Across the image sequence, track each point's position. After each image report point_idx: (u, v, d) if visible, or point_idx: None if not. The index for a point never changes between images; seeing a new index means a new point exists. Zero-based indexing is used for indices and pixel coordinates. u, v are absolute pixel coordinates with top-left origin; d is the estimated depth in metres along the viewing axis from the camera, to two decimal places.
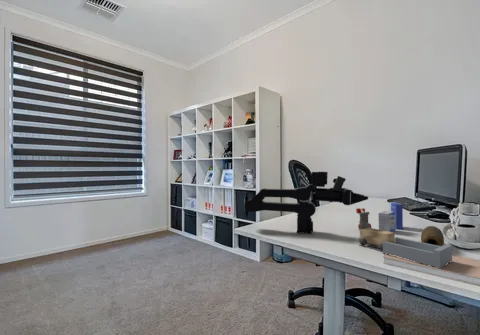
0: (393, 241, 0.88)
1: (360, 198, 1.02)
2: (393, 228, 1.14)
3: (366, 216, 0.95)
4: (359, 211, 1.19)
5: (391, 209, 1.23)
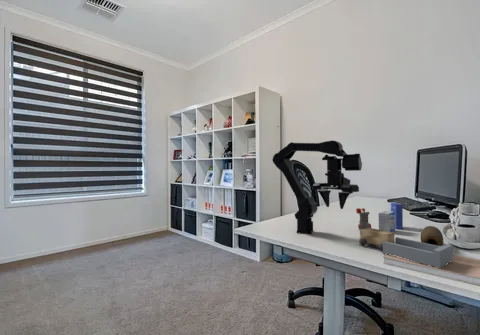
0: (393, 241, 0.88)
1: (343, 201, 1.02)
2: (393, 228, 1.14)
3: (366, 216, 0.95)
4: (359, 211, 1.19)
5: (391, 209, 1.23)
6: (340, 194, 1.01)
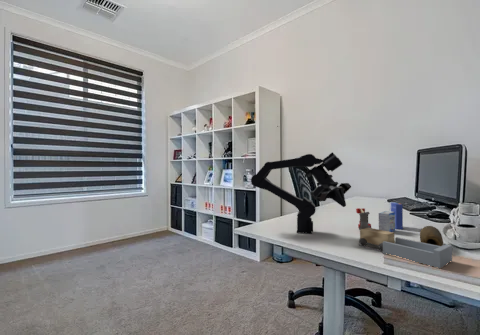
0: (393, 241, 0.88)
1: None
2: (393, 228, 1.14)
3: (366, 216, 0.95)
4: (359, 211, 1.19)
5: (391, 209, 1.23)
6: (342, 189, 1.04)
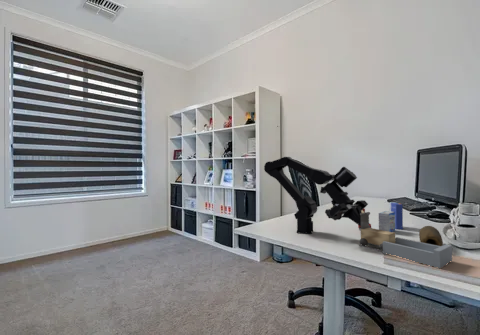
0: (394, 241, 0.87)
1: None
2: (393, 228, 1.14)
3: (367, 216, 0.95)
4: None
5: (391, 209, 1.23)
6: (359, 208, 0.98)
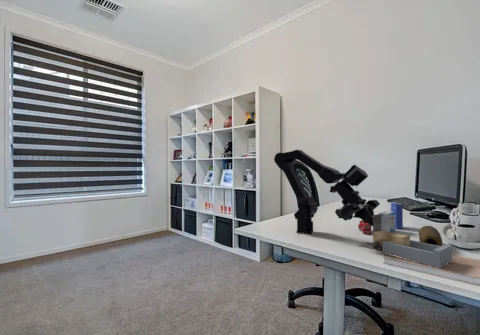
0: (409, 245, 0.84)
1: None
2: (393, 228, 1.14)
3: (379, 218, 0.91)
4: None
5: (391, 209, 1.23)
6: (371, 208, 0.94)
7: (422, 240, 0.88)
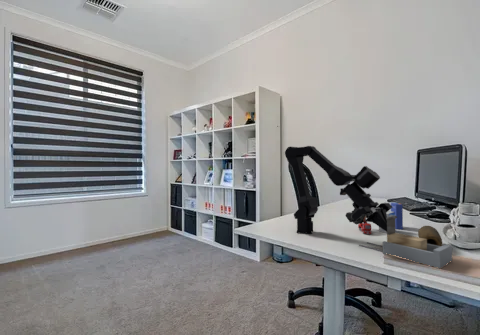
0: (426, 248, 0.80)
1: None
2: None
3: (393, 220, 0.87)
4: None
5: (391, 209, 1.23)
6: (384, 211, 0.90)
7: None
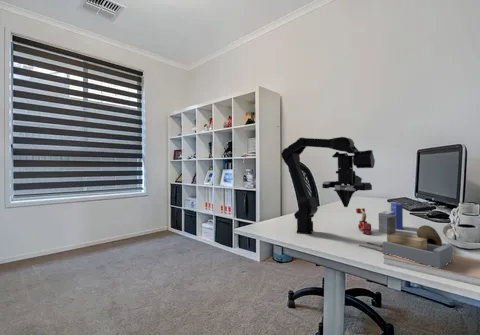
0: (426, 248, 0.80)
1: (348, 199, 1.01)
2: None
3: (393, 220, 0.87)
4: (359, 211, 1.19)
5: (391, 209, 1.23)
6: (345, 192, 0.99)
7: None
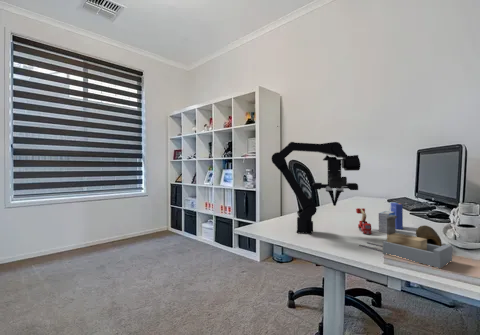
0: (426, 248, 0.80)
1: (331, 198, 1.13)
2: None
3: (393, 220, 0.87)
4: (359, 211, 1.19)
5: (391, 209, 1.23)
6: None
7: None
